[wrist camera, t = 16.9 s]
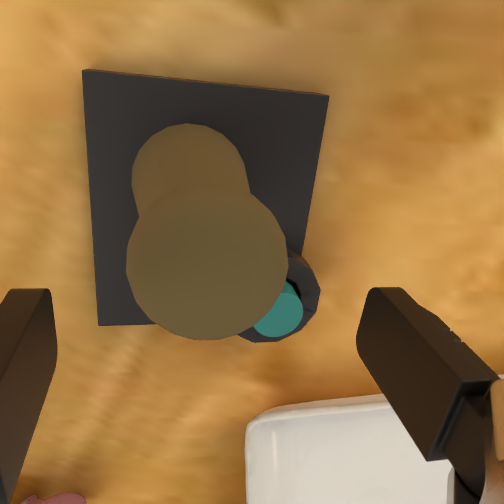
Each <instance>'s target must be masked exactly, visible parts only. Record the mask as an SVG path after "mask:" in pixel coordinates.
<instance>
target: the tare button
mask: <svg viewBox="0 0 504 504" xmlns="http://www.w3.org/2000/svg"><path fill="white" fill-rule="evenodd" d="M302 316H303V306H302V303H301V301H300V300H299V298H298V296H297V294H296V292H295V291H294V289H293V287H292V286H291V284H290V283H288V282H287V281H285V285H284V288H283V290H282V292H281V293H280V295H279V297H278V299H277V300H276V302H275V304H274V305H273V307H272V308H271V310H270V311H269V312H268V313H267V314H266V315H265V316H264V317H263V318H262V319H261V320H260V321H259V322H258V323H256V324H255V325H254V328H255V329H256V330H257V331H258V332H259V333H260V334H262V335H264V336H268V337H279V336H283V335H285V334H288V333H289V332H291V331H292V330H294V329H295V328H296V327H297V326H298V324H299V323H300V321H301V319H302Z"/></svg>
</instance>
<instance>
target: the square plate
mask: <svg viewBox="0 0 504 504" xmlns="http://www.w3.org/2000/svg"><path fill="white" fill-rule="evenodd" d="M498 376H499V377H500V378H501V379H504V374H499V375H498ZM451 468H452V464H451V463H450V461H449V460H448V459H447V460H439V461H430V462H426V460H425V459H424V457H423V456H422V454H421V452H420V451H419V449H418V448H417V446H416V444H415V443H414V441H413V440H412V438H411V437H410V435H409V433H408V432H407V430H406V429H405V427H404V426H403V424H402V422H401V421H400V419H399V418H398V416H397V415H396V413H395V411H394V410H393V408H392V407H391V405H390V404H389V402H388V400H387V399H386V397H385V396H384V394H383V393H381V394H373V395H365V396H357V397H348V398H338V399H327V400H319V401H310V402H304V403H297V404H290V405H283V406H278V407H274V408H270V409H268V410H266V411H263V412H262V413H260V414H259V415H257V416H256V417H254V418H253V420H252V421H251V422H250V423H249V424H248V425H247V428H246V435H245V469H246V500H247V502H246V504H447V482H448V474H449V472H450V470H451Z"/></svg>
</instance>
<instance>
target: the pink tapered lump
mask: <svg viewBox="0 0 504 504" xmlns="http://www.w3.org/2000/svg"><path fill="white" fill-rule="evenodd" d="M19 504H87V502H86V500H85V499H84V498H83V497H82V496H81V495H78V494H76V493H71V492H67V493H61V494H57V495H54V496H52V497H49V498H46V499H44V500H42V499H39V500H38V498H37V497H36V495H32V496H30V497H28V498H26V499H25V500H23V501H22V502H20V503H19Z"/></svg>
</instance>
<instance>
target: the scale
mask: <svg viewBox="0 0 504 504" xmlns="http://www.w3.org/2000/svg"><path fill="white" fill-rule="evenodd" d="M82 80H83V96H84V111H85V127H86V142H87V157H88V173H89V188H90V204H91V219H92V235H93V250H94V266H95V281H96V297H97V312H98V325H99V326H113V325H147V324H156V323H155V322H153V321H152V320H150V319H149V317H148V316H147V315H146V314H145V312H144V311H143V310H142V309H141V308H140V306H139V305H138V304H137V303H136V300H135V298H134V295H133V292H132V289H131V286H130V283H129V280H128V277H127V274H126V261H127V247H128V242H129V239H130V237H131V235H132V232H133V230H134V228H135V225H136V223H137V220H138V219H139V214H138V210H137V206H136V202H135V198H134V194H133V190H132V186H131V183H132V166H133V164H134V161H135V159H136V156H137V154H138V151H139V150H140V148H141V147H142V146H143V145H144V144H145V143H146V142H147V141H148V139H149V138H150V137H151V136H152V135H154V134H156V133H158V132H160V131H161V130H163V129H165V128H167V127H169V126H174V125H180V124H185V123H189V124H196V125H203V126H207V127H209V128H211V129H213V130H215V131H217V132H219V133H221V134H223V135H224V136H225V137H226V138H227V139H228V140H229V141H230V142H231V143H232V144H233V145H234V146H235V147H236V148H237V150H238V152H239V154H240V156H241V158H242V160H243V162H244V165H245V170H246V175H247V179H248V184H249V189H250V193H251V194H252V195H254V196H255V197H256V198H257V199H258V200H259V201H260V202H261V203H262V204H263V205H264V206H266V207H267V208H268V209H269V210H270V211H271V213H272V214H273V215H274V217H275V218H276V220H277V222H278V224H279V226H280V228H281V230H282V232H283V234H284V236H285V240H286V248H287V257H288V272H287V276H286V280H285V281H287V282H288V283H290V284H291V286H292V287H293V289H294V291H295V292H296V294H297V296H298V298H299V300H300V301H301V303H302V306H303V316H302V319H301V321H300V323H299V324H298V326H297V327H296V328H295V329H294V330H292V331H291V332H289V333H288V334H285V335H283V336H279V337H268V336H264V335H262V334H260V333H259V332H258V331H257V330H256V329H255V328H254V326H252V327H250V328H248V329H247V330H245V331H243V332H241V333H239V334H237V335H238V336H241V337H243V338H245V339H247V340H249V341H251V342H255V343H256V342H277V341H280V340H282V339H284V338H286V337H288V336H290V335H292V334H294V333H296V332H298V331H300V330H302V328H303V327H304V326H305V325H306V324H307V322H308V321H309V320H310V319H311V318H312V316H313V315H314V314H315V313H316V310H317V305H318V301H319V296H320V291H321V290H320V287H319V285H318V282H317V280H316V277H315V275H314V273H313V270H312V269H311V268H310V266H309V265H308V263H307V262H306V260H305V259H304V258H303V257H302V256H301V255H302V249H303V244H304V238H305V232H306V227H307V221H308V215H309V210H310V204H311V198H312V193H313V187H314V181H315V175H316V170H317V164H318V158H319V153H320V147H321V141H322V136H323V130H324V124H325V119H326V113H327V107H328V101H329V96H328V95H324V94H320V93H311V92H302V91H292V90H283V89H273V88H264V87H255V86H245V85H236V84H226V83H217V82H207V81H198V80H188V79H179V78H169V77H160V76H150V75H141V74H131V73H122V72H112V71H103V70H93V69H85V70H82Z"/></svg>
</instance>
